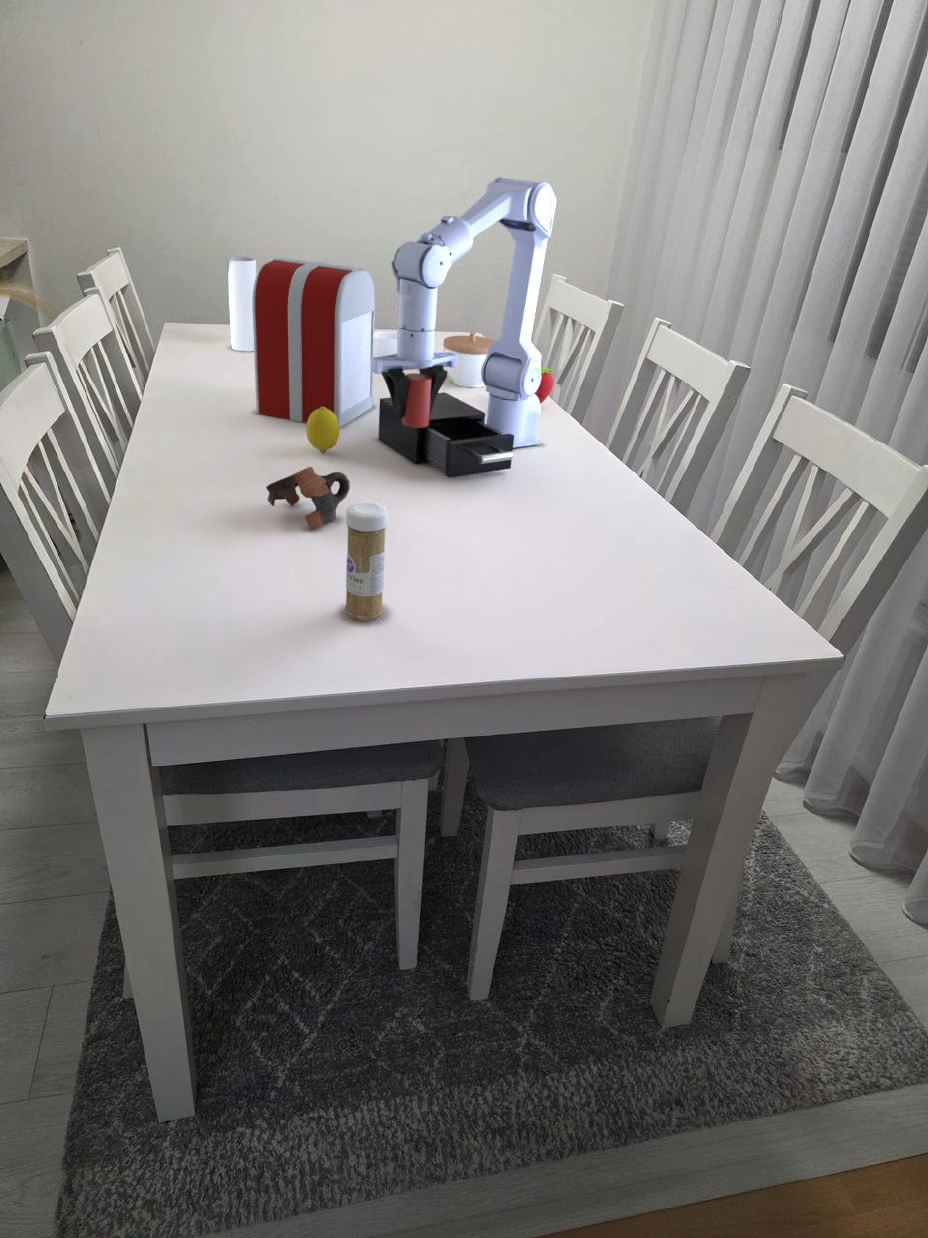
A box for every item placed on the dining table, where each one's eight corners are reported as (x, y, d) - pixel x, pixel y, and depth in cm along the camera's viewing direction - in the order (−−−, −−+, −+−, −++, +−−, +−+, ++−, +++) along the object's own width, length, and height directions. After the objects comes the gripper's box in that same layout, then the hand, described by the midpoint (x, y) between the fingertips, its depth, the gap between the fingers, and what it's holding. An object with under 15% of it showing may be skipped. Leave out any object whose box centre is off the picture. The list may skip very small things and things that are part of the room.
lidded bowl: (506, 383, 201) (511, 333, 196) (478, 394, 192) (482, 342, 186) (460, 372, 207) (464, 323, 201) (430, 382, 197) (433, 331, 192)
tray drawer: (526, 477, 146) (530, 443, 144) (463, 487, 140) (466, 452, 137) (471, 445, 159) (473, 413, 156) (410, 453, 152) (412, 420, 150)
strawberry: (542, 402, 190) (548, 355, 185) (555, 412, 184) (562, 364, 179) (516, 402, 189) (521, 354, 184) (529, 412, 182) (534, 364, 177)
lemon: (333, 459, 149) (333, 413, 146) (302, 455, 150) (301, 409, 146) (343, 449, 154) (344, 404, 150) (313, 445, 155) (312, 400, 151)
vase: (232, 351, 208) (227, 260, 198) (231, 343, 214) (226, 255, 204) (280, 352, 211) (278, 262, 201) (279, 344, 217) (276, 257, 207)
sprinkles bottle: (337, 612, 105) (337, 506, 98) (364, 599, 108) (367, 496, 101) (364, 626, 102) (366, 519, 96) (391, 613, 105) (396, 508, 99)
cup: (406, 369, 205) (407, 339, 202) (363, 368, 202) (364, 338, 199) (400, 360, 211) (401, 331, 208) (358, 360, 209) (359, 330, 205)
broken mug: (295, 539, 122) (269, 484, 120) (277, 542, 131) (253, 490, 129) (369, 505, 127) (345, 451, 125) (347, 510, 135) (324, 459, 133)
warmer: (481, 454, 157) (485, 413, 154) (415, 464, 151) (417, 420, 147) (442, 431, 167) (444, 392, 163) (378, 439, 160) (379, 398, 157)
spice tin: (420, 418, 144) (422, 372, 141) (434, 426, 141) (436, 379, 138) (396, 420, 142) (398, 374, 138) (410, 429, 139) (412, 381, 135)
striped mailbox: (338, 428, 164) (339, 274, 151) (253, 412, 168) (247, 261, 155) (374, 406, 178) (378, 263, 165) (295, 392, 182) (293, 252, 169)
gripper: (387, 335, 129) (384, 426, 135) (470, 330, 136) (463, 417, 143) (364, 325, 134) (363, 413, 140) (446, 321, 141) (440, 405, 148)
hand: (412, 414), depth 142 cm, fingers closed on spice tin, 4 cm apart
